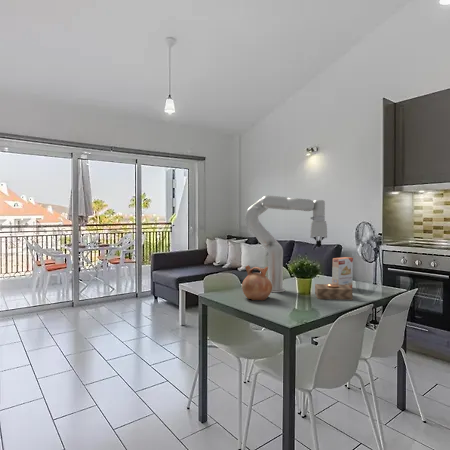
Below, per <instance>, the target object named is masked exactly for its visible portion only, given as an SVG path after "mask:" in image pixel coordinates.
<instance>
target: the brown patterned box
mask: <svg viewBox="0 0 450 450" xmlns="http://www.w3.org/2000/svg"><path fill="white" fill-rule="evenodd" d="M327 284H328V283H326V284H325V283H322V284H321V283H315V284H314V294H315V297H316V298H317V300H346V301H348V300H350V301H351V300H353V288H350V287H349V286H348V285H339V287H338V288H329V287H327Z"/></svg>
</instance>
